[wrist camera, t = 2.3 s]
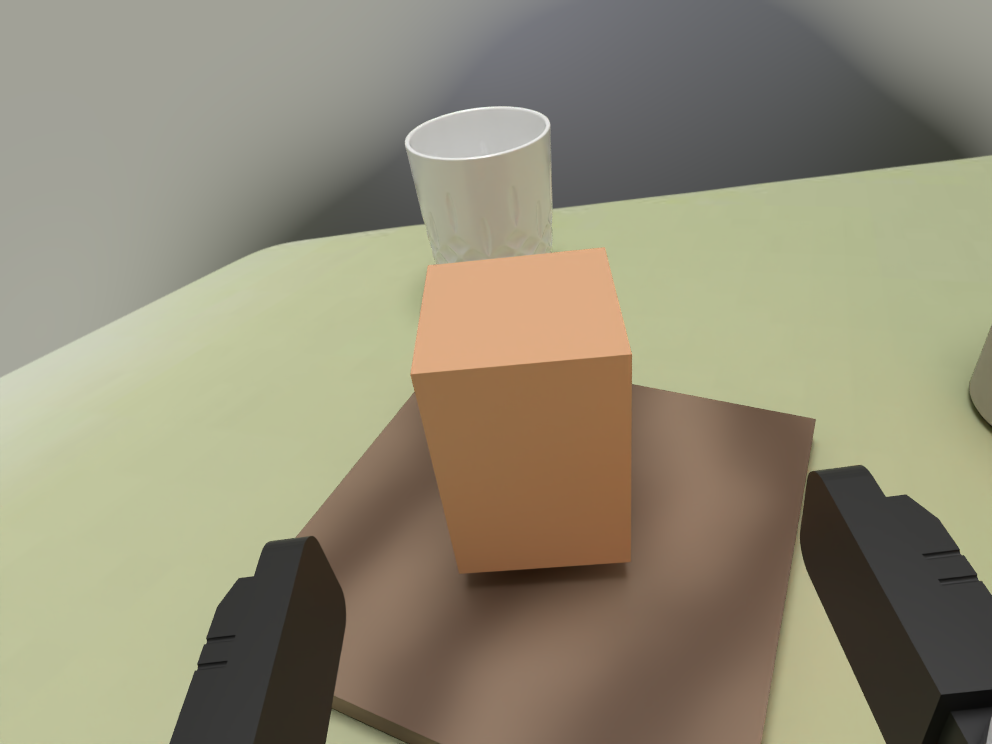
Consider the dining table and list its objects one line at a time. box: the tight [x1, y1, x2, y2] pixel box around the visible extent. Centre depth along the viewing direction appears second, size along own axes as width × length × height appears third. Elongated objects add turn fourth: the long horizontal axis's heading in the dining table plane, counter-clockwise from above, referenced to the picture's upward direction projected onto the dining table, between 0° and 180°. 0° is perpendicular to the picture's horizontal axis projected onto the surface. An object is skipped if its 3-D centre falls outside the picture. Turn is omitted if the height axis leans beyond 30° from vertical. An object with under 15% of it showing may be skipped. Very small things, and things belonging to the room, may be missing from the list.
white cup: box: [405, 107, 552, 264], centre depth 41 cm, size 8×8×10 cm
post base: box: [296, 384, 816, 744], centre depth 25 cm, size 18×18×10 cm
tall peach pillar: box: [411, 247, 632, 574], centre depth 24 cm, size 6×6×9 cm
